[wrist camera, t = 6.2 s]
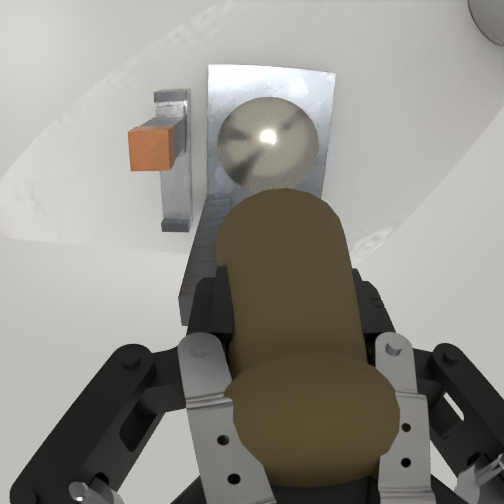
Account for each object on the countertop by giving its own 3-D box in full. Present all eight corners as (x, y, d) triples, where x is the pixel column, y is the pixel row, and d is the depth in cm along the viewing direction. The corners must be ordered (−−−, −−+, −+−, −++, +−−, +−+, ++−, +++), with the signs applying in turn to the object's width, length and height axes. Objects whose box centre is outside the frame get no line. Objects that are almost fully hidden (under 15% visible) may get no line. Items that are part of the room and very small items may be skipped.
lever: (155, 106, 28) (127, 120, 22) (187, 105, 28) (167, 118, 22) (157, 154, 31) (132, 181, 24) (188, 153, 31) (170, 181, 24)
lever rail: (161, 90, 29) (153, 92, 27) (190, 88, 29) (184, 90, 27) (167, 220, 37) (162, 231, 35) (192, 220, 37) (188, 232, 35)
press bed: (210, 64, 28) (164, 64, 13) (332, 73, 28) (414, 87, 13) (209, 209, 36) (181, 325, 21) (315, 214, 37) (356, 329, 22)
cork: (355, 192, 14) (488, 426, 4) (332, 299, 17) (381, 507, 8) (214, 185, 13) (155, 458, 4) (216, 297, 17) (195, 518, 7)
